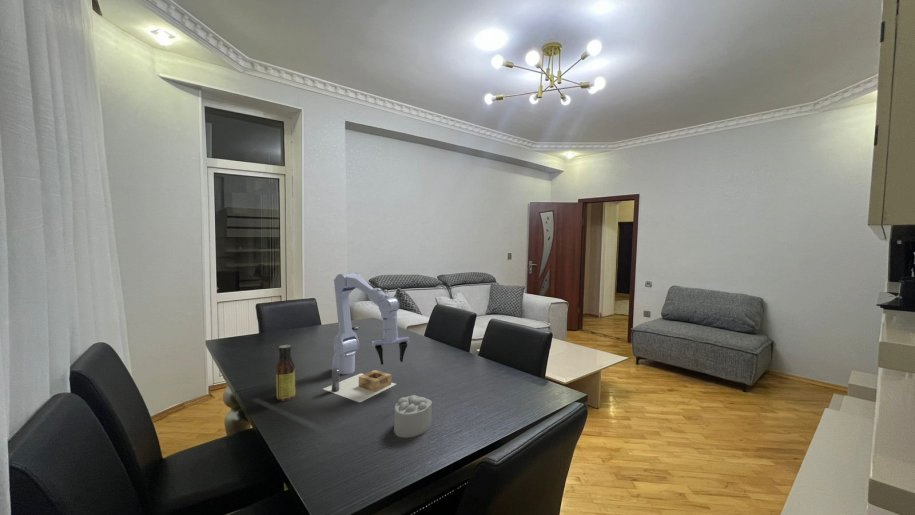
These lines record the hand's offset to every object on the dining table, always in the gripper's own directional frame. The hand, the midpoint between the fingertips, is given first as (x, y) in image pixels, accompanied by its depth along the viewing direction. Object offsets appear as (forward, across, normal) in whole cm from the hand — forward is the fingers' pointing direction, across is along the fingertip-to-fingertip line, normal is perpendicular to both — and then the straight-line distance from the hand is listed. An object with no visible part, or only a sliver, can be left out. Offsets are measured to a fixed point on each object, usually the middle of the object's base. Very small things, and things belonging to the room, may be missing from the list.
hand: (391, 362), depth 143 cm
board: (+10, -12, +4) cm, 16 cm away
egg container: (+13, 0, -30) cm, 33 cm away
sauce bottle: (+9, -39, +2) cm, 40 cm away
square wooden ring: (+9, -6, +3) cm, 11 cm away
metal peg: (+8, -22, +2) cm, 23 cm away
